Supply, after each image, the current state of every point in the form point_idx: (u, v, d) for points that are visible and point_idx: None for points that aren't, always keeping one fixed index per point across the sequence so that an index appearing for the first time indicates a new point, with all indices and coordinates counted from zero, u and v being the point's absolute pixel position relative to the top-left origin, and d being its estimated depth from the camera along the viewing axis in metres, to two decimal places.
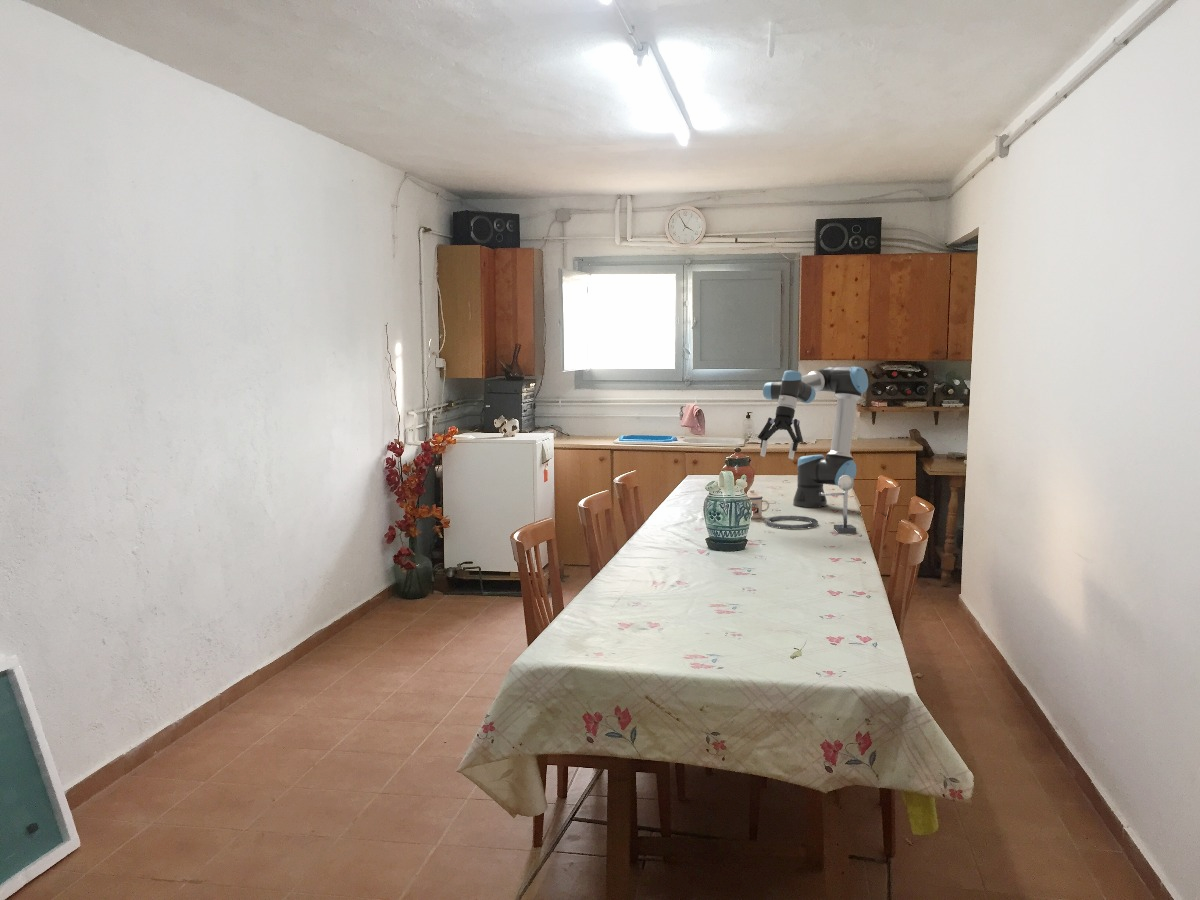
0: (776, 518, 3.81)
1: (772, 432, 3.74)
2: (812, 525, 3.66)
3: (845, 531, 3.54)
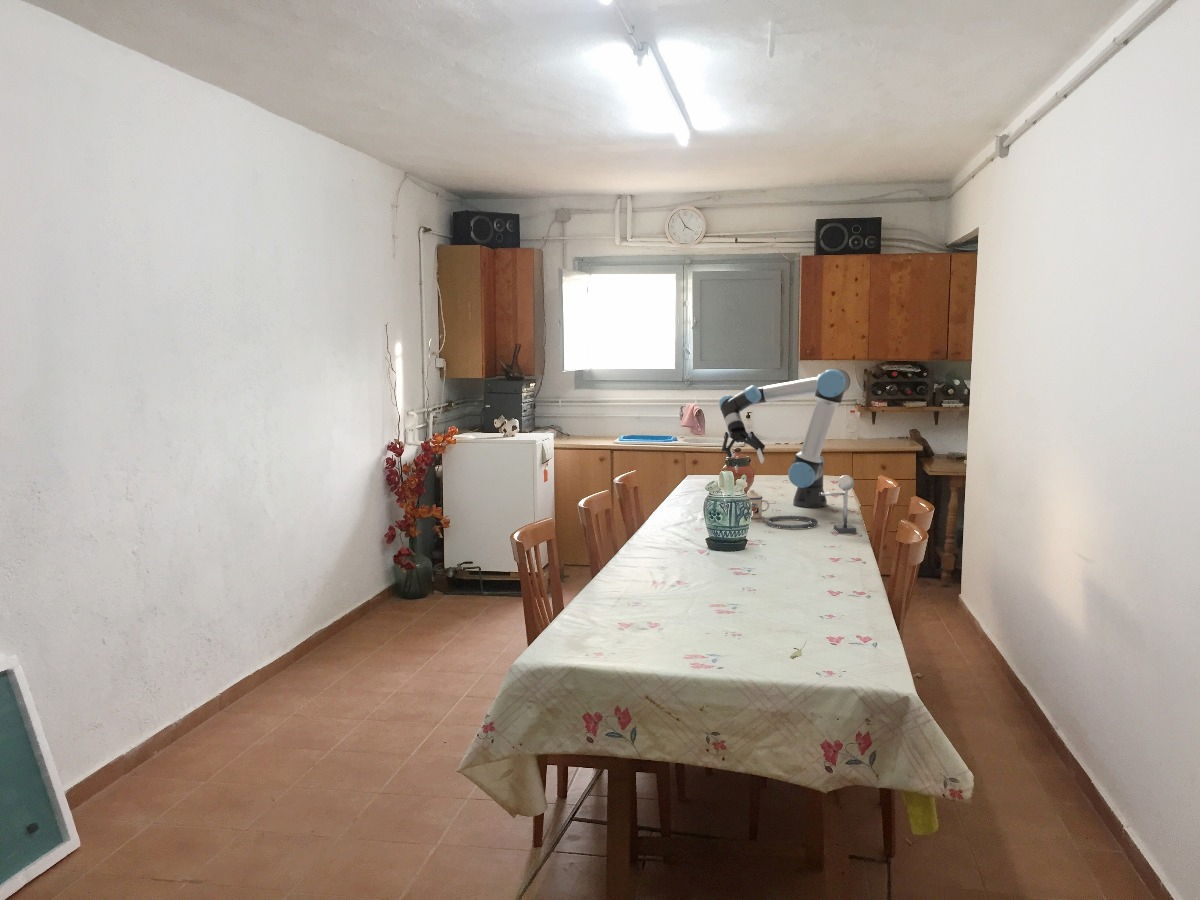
0: (776, 518, 3.81)
1: (750, 443, 4.04)
2: (812, 525, 3.66)
3: (845, 531, 3.54)
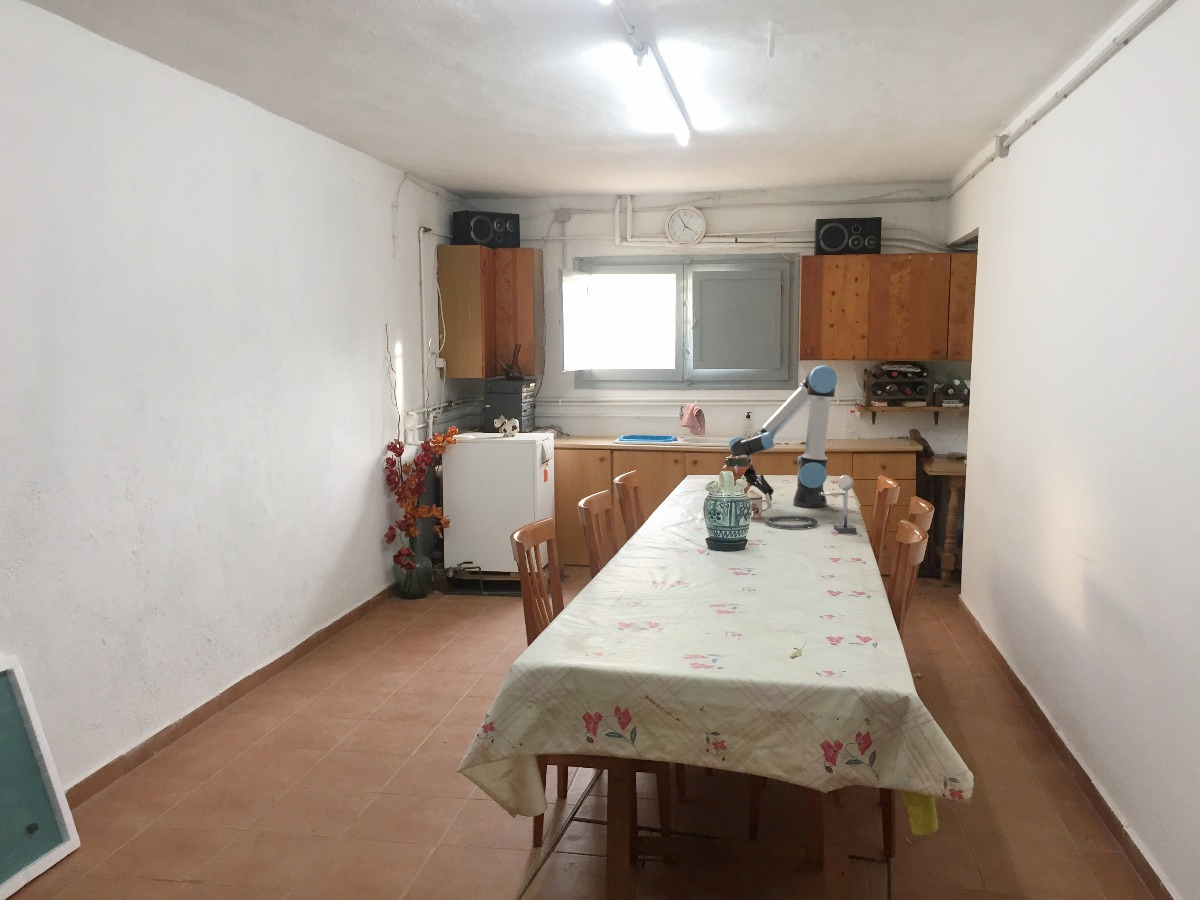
0: (776, 518, 3.81)
1: (759, 487, 3.95)
2: (812, 525, 3.66)
3: (845, 531, 3.54)
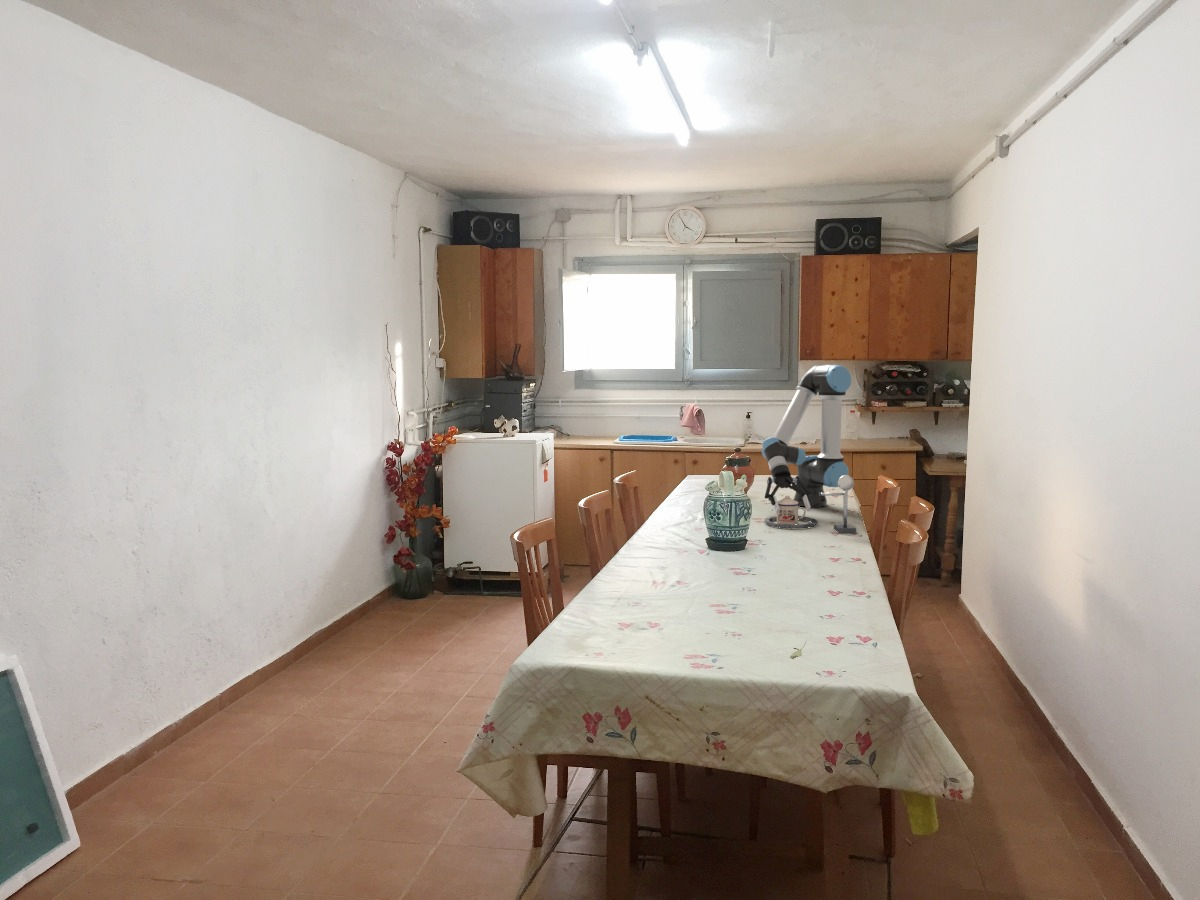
0: (776, 518, 3.81)
1: (796, 489, 3.78)
2: (812, 525, 3.66)
3: (845, 531, 3.54)
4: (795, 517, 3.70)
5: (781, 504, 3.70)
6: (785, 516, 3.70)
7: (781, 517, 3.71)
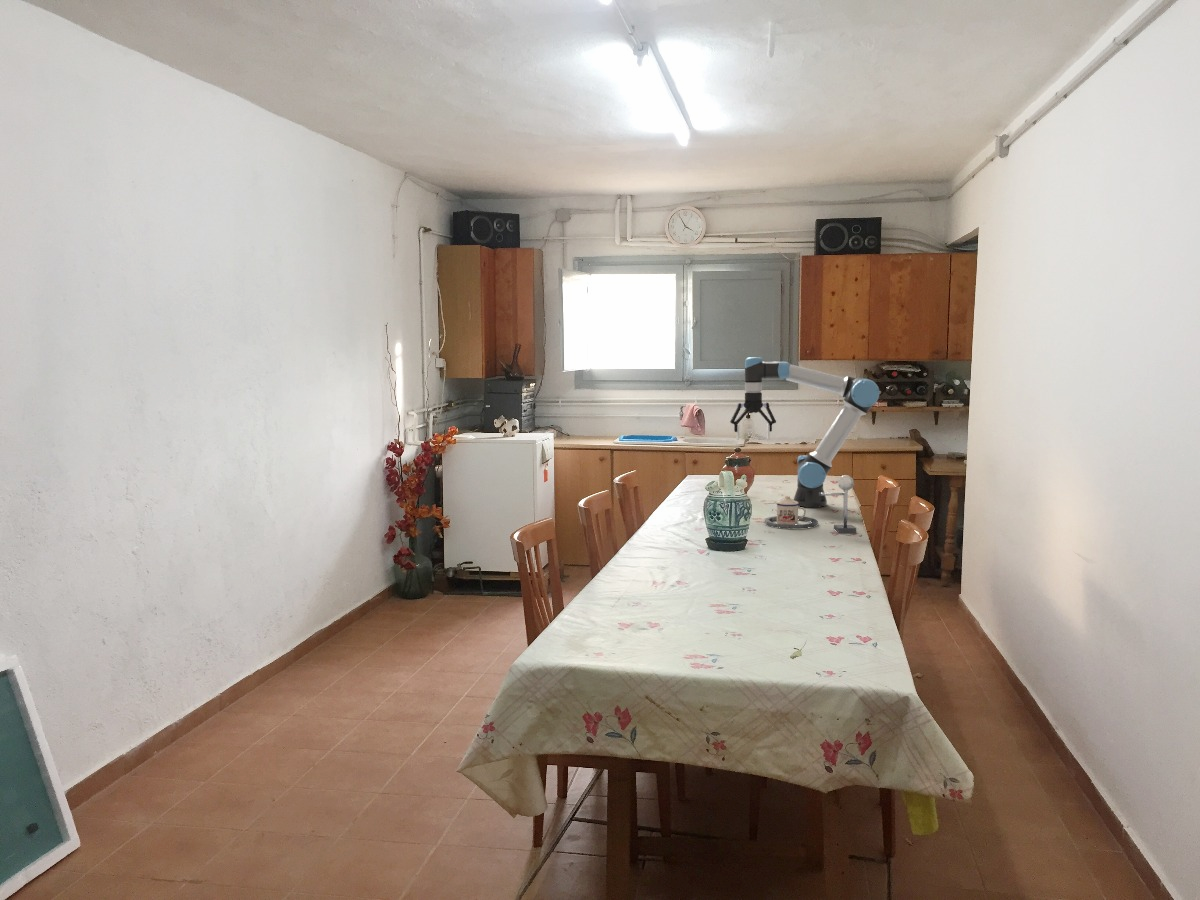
0: (776, 518, 3.81)
1: None
2: (812, 525, 3.66)
3: (845, 531, 3.54)
4: (795, 517, 3.70)
5: (781, 504, 3.70)
6: (785, 516, 3.70)
7: (781, 517, 3.71)
